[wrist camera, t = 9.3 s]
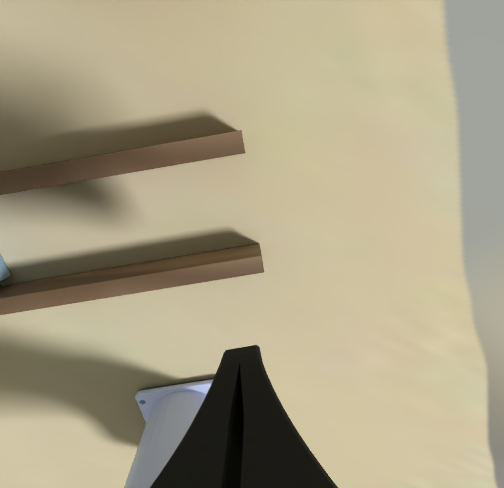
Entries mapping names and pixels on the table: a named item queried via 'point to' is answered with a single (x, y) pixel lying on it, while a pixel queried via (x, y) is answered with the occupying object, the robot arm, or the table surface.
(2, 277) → the block
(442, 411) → the table surface
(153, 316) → the table surface
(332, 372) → the table surface
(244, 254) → the guide rail
